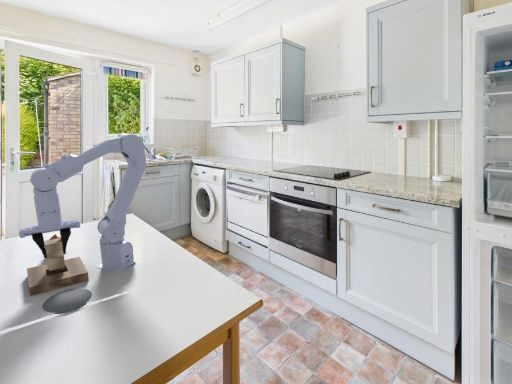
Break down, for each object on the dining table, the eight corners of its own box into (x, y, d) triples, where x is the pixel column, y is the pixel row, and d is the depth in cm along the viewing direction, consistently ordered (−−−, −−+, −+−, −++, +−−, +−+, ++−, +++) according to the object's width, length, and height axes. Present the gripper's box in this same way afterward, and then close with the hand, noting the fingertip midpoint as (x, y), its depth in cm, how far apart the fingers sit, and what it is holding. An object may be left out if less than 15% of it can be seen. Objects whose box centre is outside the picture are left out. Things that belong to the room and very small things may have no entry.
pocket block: (80, 264, 99) (79, 256, 99) (89, 281, 89) (87, 272, 88) (28, 277, 91) (26, 268, 90) (30, 297, 80) (28, 287, 79)
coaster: (101, 294, 82) (101, 292, 82) (65, 317, 72) (65, 315, 72) (70, 287, 85) (70, 285, 85) (32, 309, 75) (31, 307, 75)
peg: (63, 262, 92) (60, 237, 90) (65, 267, 89) (61, 241, 87) (47, 266, 89) (44, 240, 87) (49, 271, 86) (45, 245, 84)
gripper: (75, 204, 93) (80, 245, 96) (15, 212, 84) (23, 256, 87) (79, 208, 87) (84, 252, 90) (16, 217, 78) (24, 265, 81)
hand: (54, 255), depth 88 cm, fingers closed on peg, 4 cm apart
